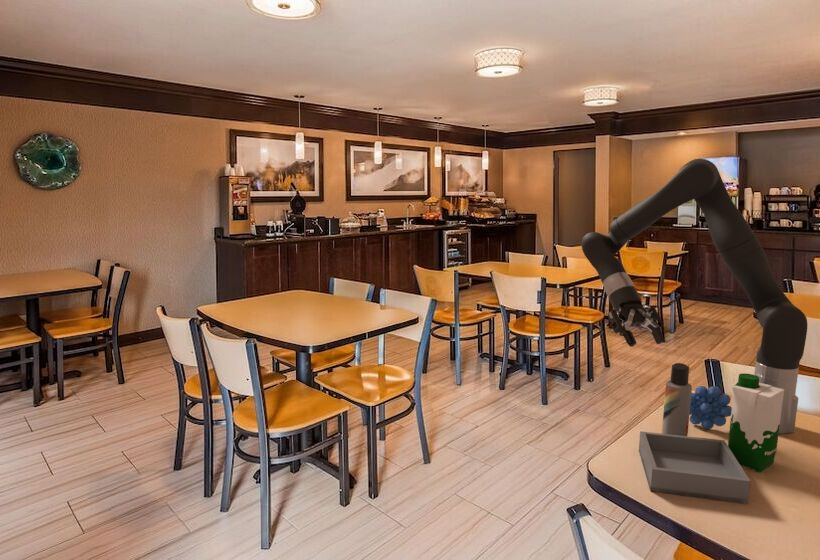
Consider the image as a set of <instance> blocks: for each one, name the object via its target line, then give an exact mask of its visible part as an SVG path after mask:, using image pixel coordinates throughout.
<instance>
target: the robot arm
mask: <svg viewBox="0 0 820 560" xmlns="http://www.w3.org/2000/svg"><path fill="white" fill-rule="evenodd" d="M693 200H694V201H695V203H696V205H697V206H698V207H699V209H700V210H701V212H702V214H703V216H704V219H705V222H706V224H707V228H708V231H709V235H710V237H711V239H712V243H713V245H714V247H715V249H716V251H717V253H718V254H719V256H720V258H721V259H722V261H723V263H724V264H725V266H726V267H727V269H728V270H729V272H730V273H731V274H732V276H733V278H734V279H735V280H736V281H737V282H738V284H739V286H740V287H741V288H742V289H743V291H744V293H745V294H746V296H747V297H748V299H749V302H750V304H751V306H752V308H753V311H754V313H755V316H756V318H757V320H758V322H759V325H760V326H761V328H762V335H761V342H760V348H759V349H758V350H757V352H756V355H755V356H756V359H755V365H754V374H753V375H756V376H758V377H759V383H763V384H768V385H771V386H773V387H776V388H780V389H784V396H783V402H782V410H781V418H780V426H779V434H782V435H783V434H789V433H791V434H794V433H795V427H796V421H797V412H798V405H799V397H798V396H797V394H796V393H797V386H798V384H797V383H798V378H799V377H798V376H799V369H800V368H799V367H800V363H801V360H802V358H803V357H804V351H805V347H806V341H807V340H806V339H807V335H808V318H807V317H806V314H805V313H804V312H803V310H801V309H800V308H798V307H797V306H796V305H795V304H793V303H792V302H791V300H790V299H789V298H788V297H787V295H786V293H784V291H783V290H782V288H781V286H780V285H779V284H778V282H777V280H776V279H775V276H774V274H773V271H772V268H771V265H770V263H769V262H770V261H769V259H768V257H767V254H766V252H765V250H764V248H763V246H762V244H761V243H760V240H759V238H758V237H757V235H756V234H755V232H754V231H753V229H752V228H751V226H750V225H749V223H748V221H747V220H746V218H745V217H744V215H743V214H742V213H741V211H740V210H739V209H738V207H737V205H736V204H735V203H734V201H733V200H732V199H731V196H730V195H729V192H728V190H727V188H726V186H725V183H724V181H723V179H722V176H721V174H720V171H719V169H718V168H717V166H716V165H715V163H713V161H710V160H709V159H706V158H694V159H692V160H690V161H687V163H685V164H684V165H683V166H681V167H680V169H678V171H677V173H675V174H674V176H673V177H672V178H671V179H670V180H669V181H667V183H665V184H664V185H663V186H662V187H661V188H660V189H658V190H657V191H656V192H655V193H653V194H652V195H650V196H648V197H646V198H645V199H644V200H642V201H640V202H639V203H637V204H635V205H634V206H633V207H631V208H629V209H628V210H626V211H625V212H623V213H622V214H621V215H619V216H618V217H617V218H615V219H614V220H613V221H611V223H610V224H609V233H607V234H606V235H604V234H602V233H600V232H597V231H591V232H588V233H586V234H585V235H584V236H583V237H582V240H581V244H580V245H581V250H582V253H583V254H584V256H585V258H586V260H587V261H588V262H589V263H590V264H591V266H592V267H593V268H594V269H595V271H596V272H597V274H598V276H599V279H600V280H601V284H602V285H603V288H604V291H605V293H606V296H607V298H608V299H609V302H610V304H611V306H612V308H613V309H611V311H609V313H608V314H607V318H608V320H609V323H610V326H611V327H612V330H613V332H614V333H615V334H621V335H622V336H623V339H624V340H625V342H626V344H627V345H628V346H629V347H630V348H631V347H634V346H636V345H637V340H636V339H635V336H634V334H633V332H632V331H631V330H630V329H631V327H634V326H641V327H643V328H645V329H648V330H649V331H650V332H651V335H652V337H653V340H654V341H655V343H656V344H657V345H660V344H662V343H663V342H664V340H665V338H664V335H663V334H662V332H661V329H660V328H662V327H663V326H664V325H665V323H664V321H663V319H662V317H661V316H660V315H659V313H658V311H657V309H656V308H655V306H650V307H649V308H645V307H644V306H643V300H642V298H641V295H640V294H639V292H638V290H637V288H636V286H635V284H634V282H633V280H632V279H631V277H630V276H629V275H628V272H627V271H626V269H625V267H624V265H623V263H622V261H621V260H620V259H619V258H617V257H616V255H617V253H619V251H620V250H621V249H622V248H623V247H625V245H626V244H627V243H628V241H630V240H632V239H633V238H634V237H636V236H637V235H639V234H641V233H642V232H643V231H645V230H647V229H648V228H649V227H650V226H652V225H653V224H654V223H656V222H657V221H658V220H659V219H662V218H663V217H664V216H665V215H667V214H669V213H670V212H671V211H673V210H676V208H678V207H681V206H682V205H685V204H686V203H689V202H690V201H693ZM621 321H622V322H621ZM779 434H778V435H779Z"/></svg>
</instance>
